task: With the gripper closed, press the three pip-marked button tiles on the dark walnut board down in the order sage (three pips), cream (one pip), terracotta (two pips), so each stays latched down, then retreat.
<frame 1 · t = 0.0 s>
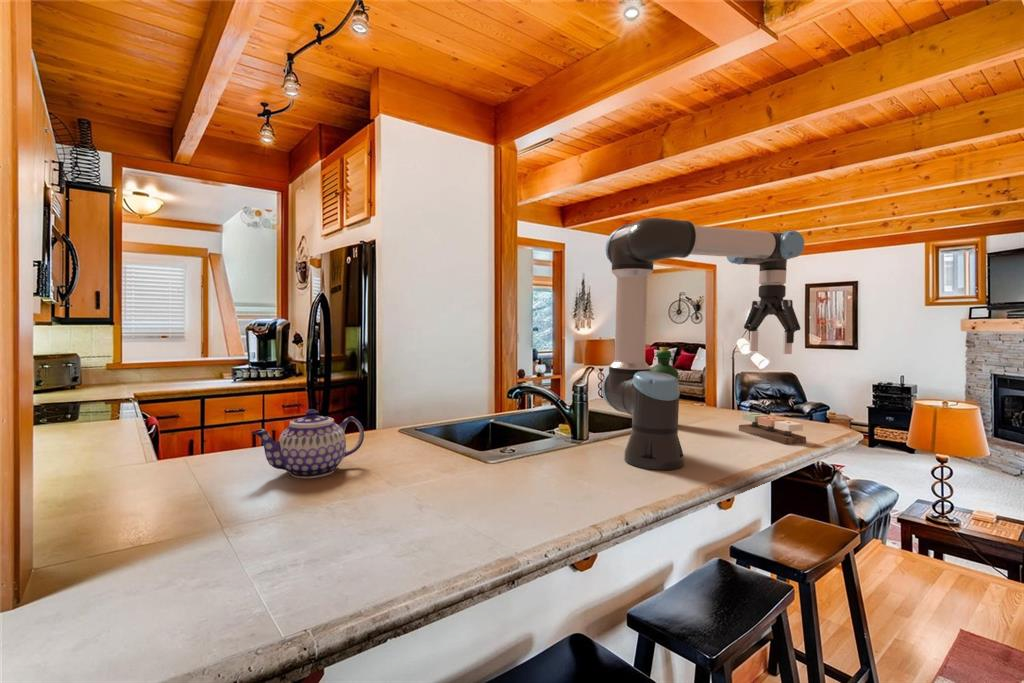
hand: (769, 352, 158), 28 cm above the counter, fingers open, 13 cm apart
button board: (770, 436, 165), on the counter
bottle: (661, 425, 181), on the counter
terracotta tile: (771, 424, 164), point 4 cm above the counter, slide at 0.0 cm
cream tile: (788, 429, 158), point 4 cm above the counter, slide at 0.0 cm
sage tile: (755, 420, 171), point 4 cm above the counter, slide at 0.0 cm
teapot: (312, 472, 119), on the counter
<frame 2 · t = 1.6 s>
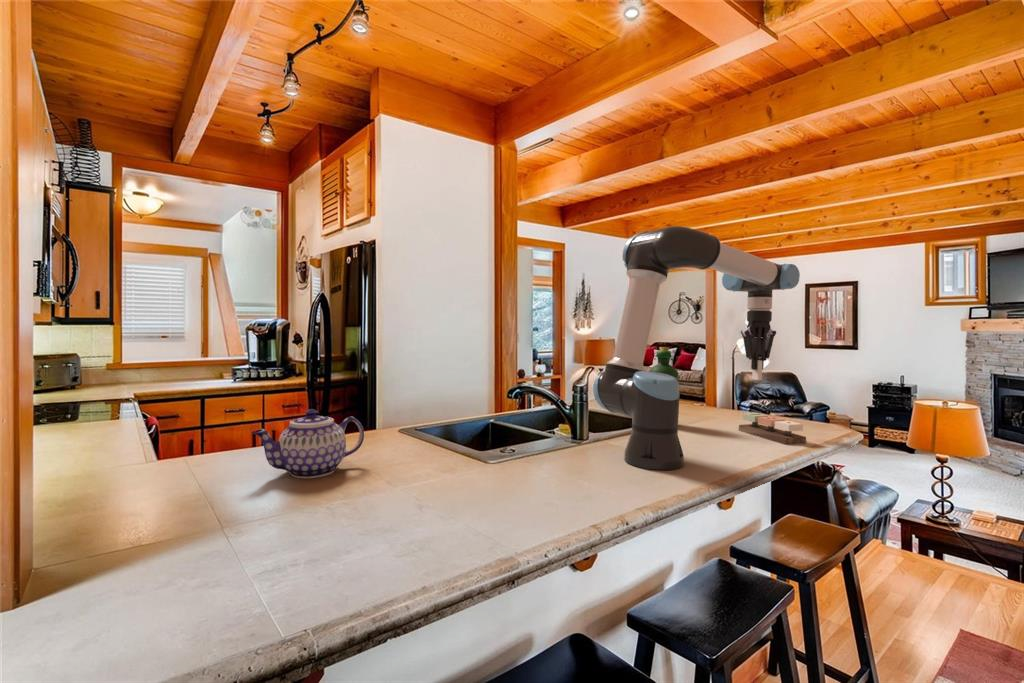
hand: (756, 379, 171), 18 cm above the counter, fingers closed
nothing on the counter moved.
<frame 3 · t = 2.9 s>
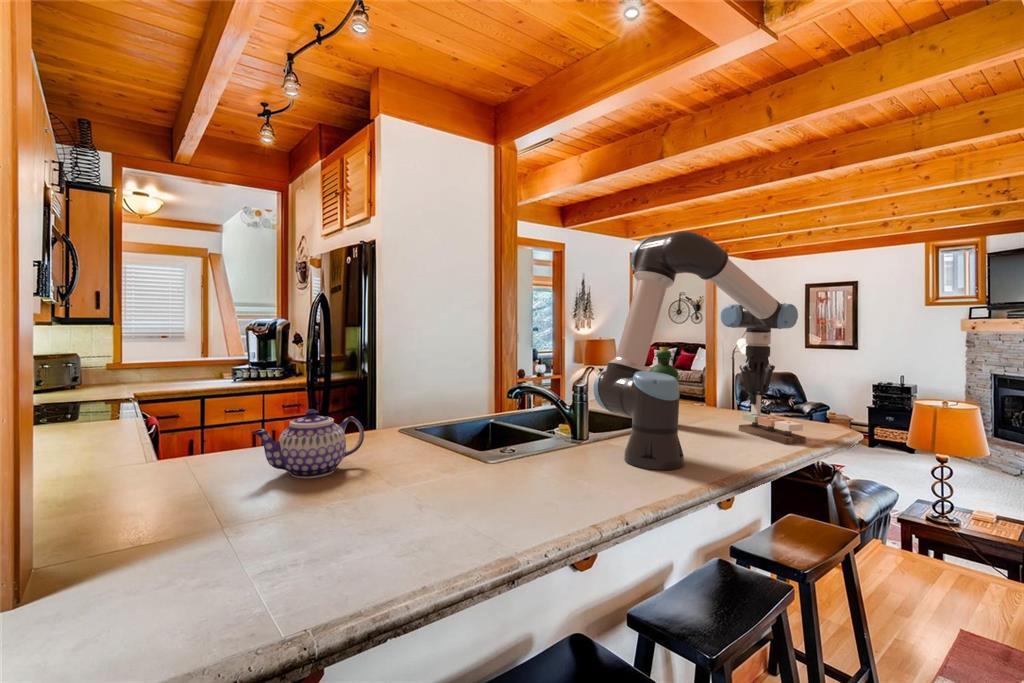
hand: (755, 413, 171), 6 cm above the counter, fingers closed
sage tile: (755, 420, 171), point 4 cm above the counter, slide at 0.1 cm, touching gripper
everything else where it was.
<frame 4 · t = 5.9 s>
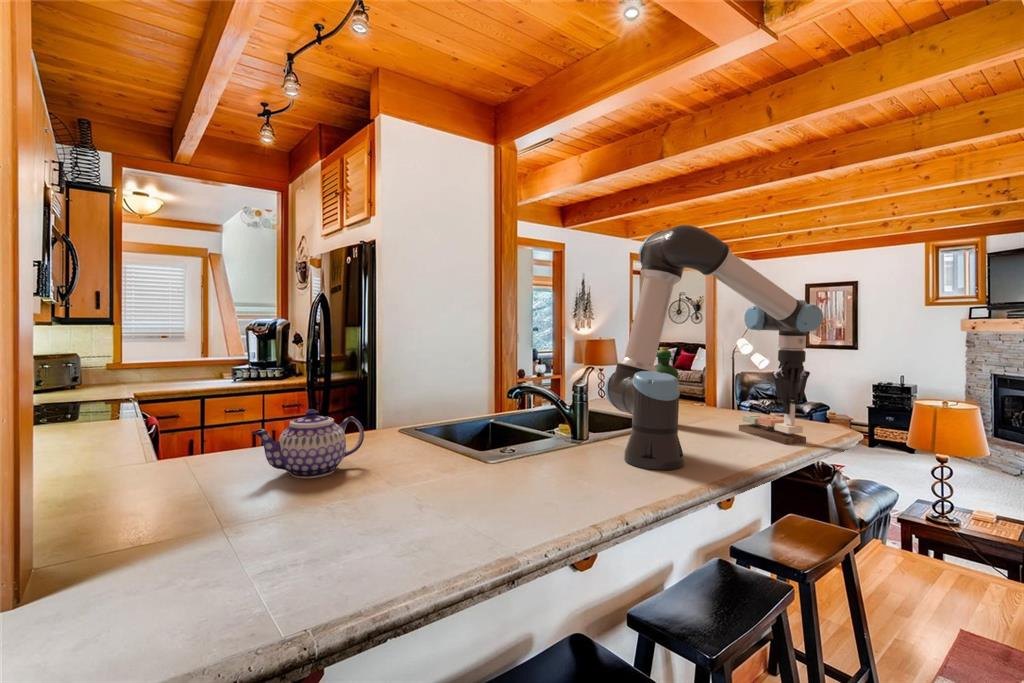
hand: (789, 424, 158), 6 cm above the counter, fingers closed
cream tile: (788, 431, 158), point 3 cm above the counter, slide at 0.7 cm, touching gripper
sage tile: (755, 422, 171), point 3 cm above the counter, slide at 0.8 cm
everything else where it was.
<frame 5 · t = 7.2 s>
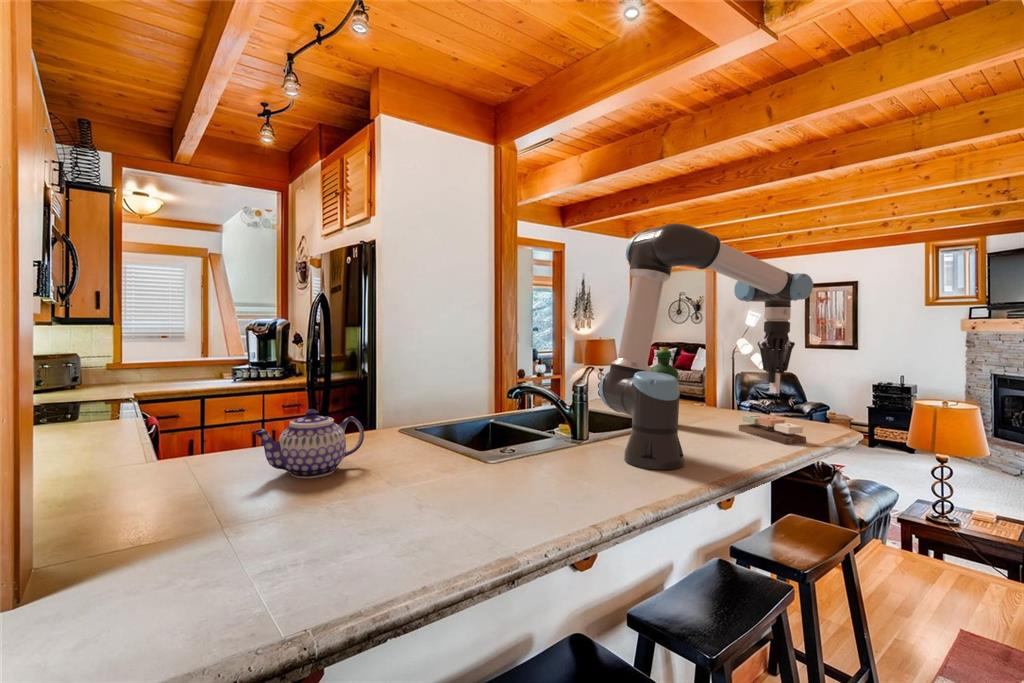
hand: (774, 392, 163), 15 cm above the counter, fingers closed
cream tile: (788, 431, 158), point 3 cm above the counter, slide at 0.8 cm
everything else where it was.
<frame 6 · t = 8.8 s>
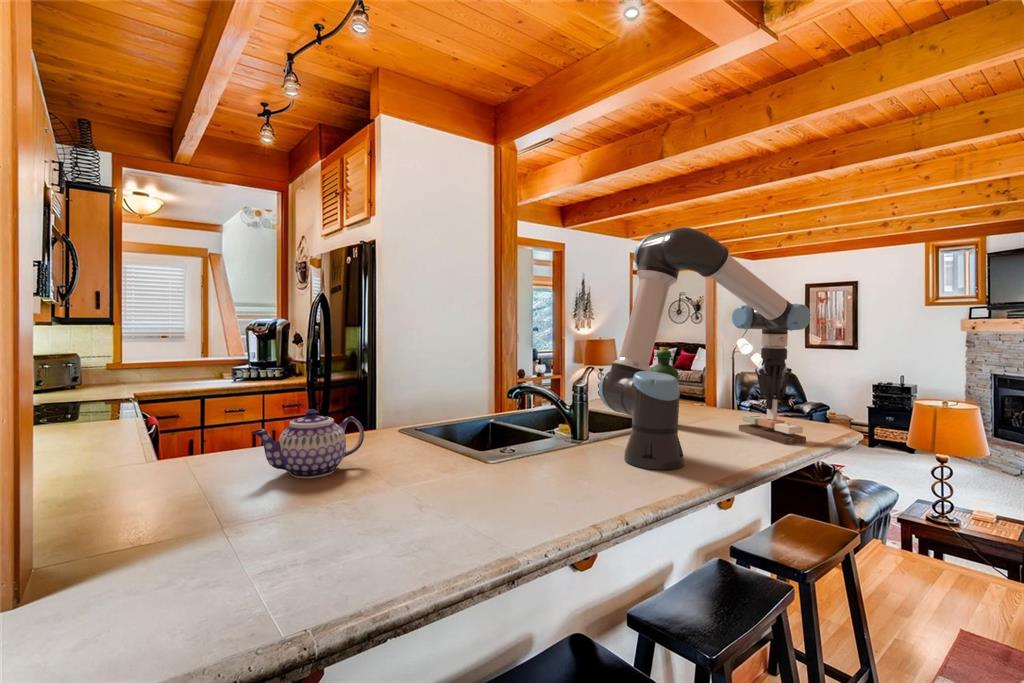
hand: (771, 418, 164), 6 cm above the counter, fingers closed
terracotta tile: (771, 426, 164), point 3 cm above the counter, slide at 0.5 cm, touching gripper
everything else where it was.
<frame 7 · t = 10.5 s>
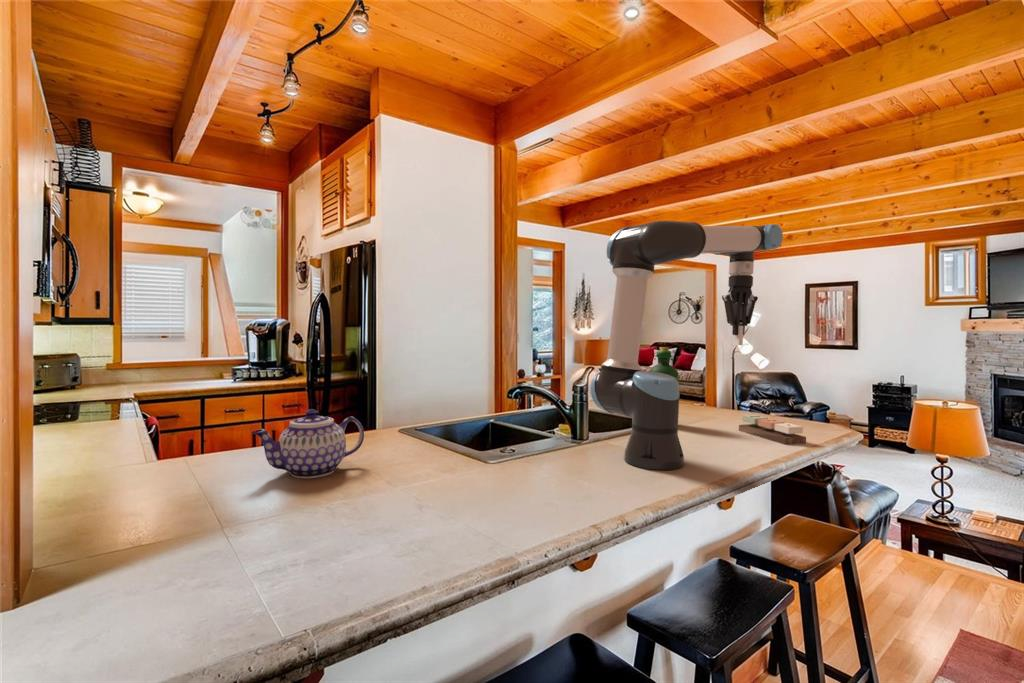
hand: (737, 344, 170), 30 cm above the counter, fingers closed
terracotta tile: (771, 427, 164), point 3 cm above the counter, slide at 0.8 cm
everything else where it was.
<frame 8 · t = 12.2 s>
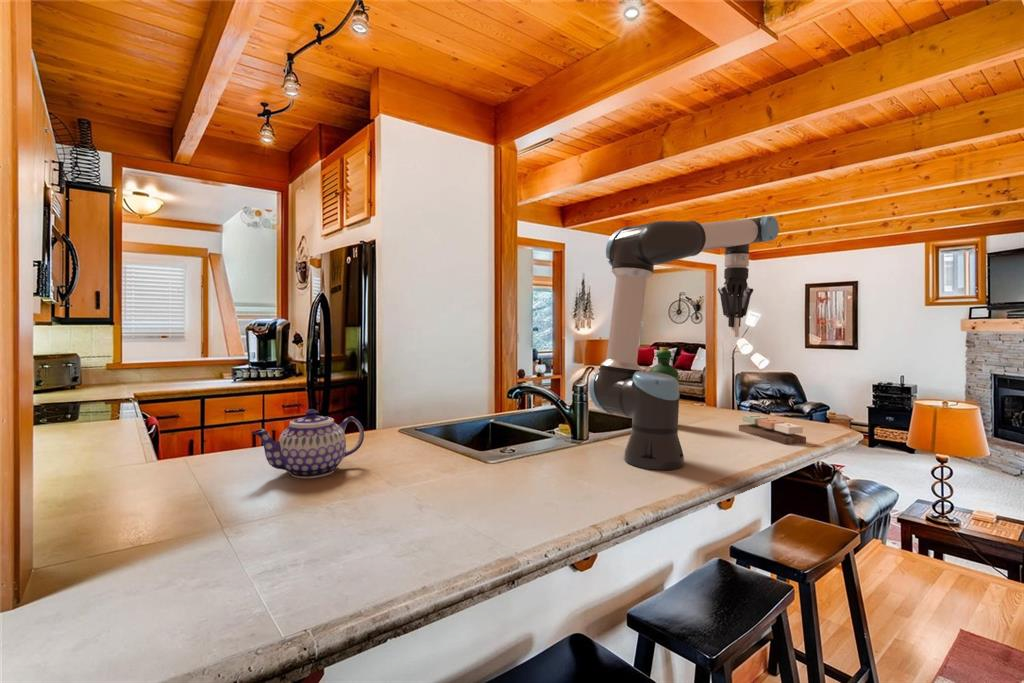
hand: (733, 336, 171), 32 cm above the counter, fingers closed
nothing on the counter moved.
at the end: sage tile slide at 0.8 cm; cream tile slide at 0.8 cm; terracotta tile slide at 0.8 cm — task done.
